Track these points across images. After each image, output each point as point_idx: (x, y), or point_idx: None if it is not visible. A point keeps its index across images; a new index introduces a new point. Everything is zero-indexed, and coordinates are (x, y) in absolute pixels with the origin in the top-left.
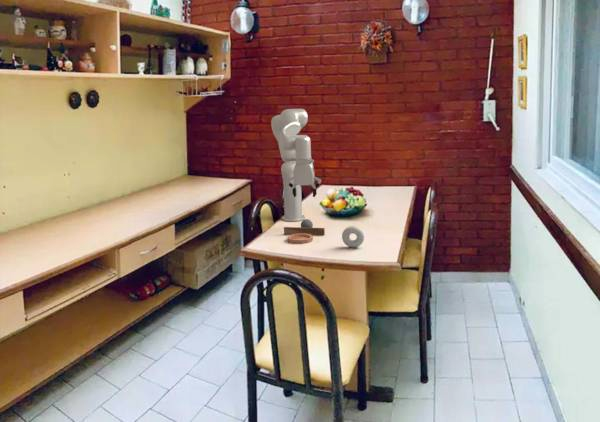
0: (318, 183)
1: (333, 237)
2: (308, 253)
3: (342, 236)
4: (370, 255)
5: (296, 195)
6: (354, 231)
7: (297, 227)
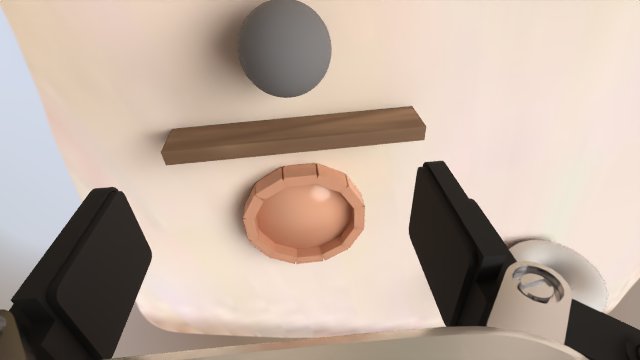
0: None
1: (460, 141)
2: (372, 311)
3: None
4: None
5: (121, 195)
6: None
7: (251, 146)
